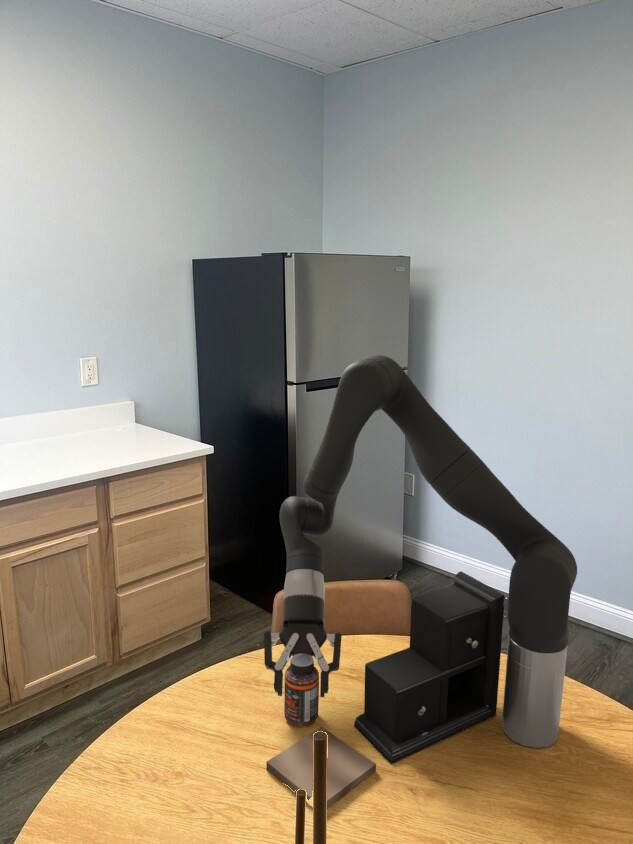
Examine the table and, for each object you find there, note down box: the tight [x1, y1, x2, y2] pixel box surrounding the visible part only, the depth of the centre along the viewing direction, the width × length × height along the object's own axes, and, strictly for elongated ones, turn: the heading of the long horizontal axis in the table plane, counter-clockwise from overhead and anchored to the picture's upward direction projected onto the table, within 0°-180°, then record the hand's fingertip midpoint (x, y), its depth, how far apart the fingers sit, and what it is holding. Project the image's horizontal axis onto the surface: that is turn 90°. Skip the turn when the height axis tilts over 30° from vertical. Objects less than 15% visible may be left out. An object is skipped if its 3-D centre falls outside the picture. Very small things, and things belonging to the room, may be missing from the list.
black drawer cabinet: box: [353, 571, 505, 765], centre depth 113 cm, size 23×11×24 cm, turn 121°
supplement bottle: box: [283, 653, 320, 728], centre depth 115 cm, size 6×6×11 cm
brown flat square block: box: [265, 726, 377, 810], centre depth 103 cm, size 12×12×2 cm
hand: (301, 695), depth 113 cm, fingers open, 6 cm apart
